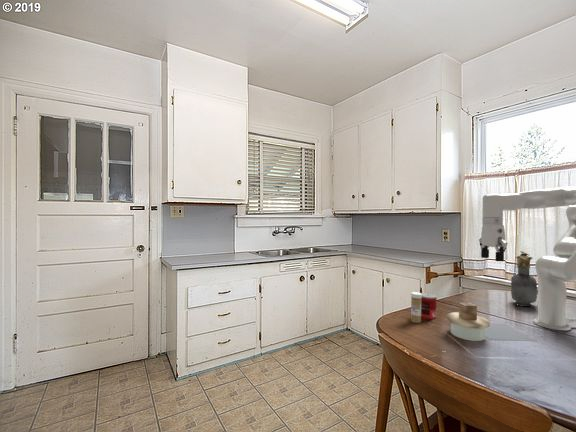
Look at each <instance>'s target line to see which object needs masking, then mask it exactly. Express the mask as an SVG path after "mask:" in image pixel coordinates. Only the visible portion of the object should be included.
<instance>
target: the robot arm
mask: <svg viewBox="0 0 576 432" xmlns="http://www.w3.org/2000/svg"><path fill="white" fill-rule="evenodd" d="M566 206H567V208H566V210H565V216H566V218H567V220H568V228H567V230H565V232H564V234H562V235H561V237H560V238H559V239H558V240H557V242H556V243H555V245H554V246H553V247H552V248H553V249H552V251H553V253H554V255H555V256H552V255H543V256H540V257H538V258H537V260H536V261H535V263H534V264H535V267H534V268H535V271H536V274H537V275H536V276H537V317H536V318H533V321H532V322H533V323H534V324H535V325H537V326H539V327H542V328H545V329H550V330H553V331H561V332H562V331H563V332H565V331H567V332H568V331H570V330H571V329H572V326H571V325H570V323H572V324H576V318H574V317H573V318H571V317H570V318H569V317H568V316H567V285H566V283H565V281H567V282H570V283H571V282H572V283H575V282H576V186H565V187H554V188H553V187H552V188H545V189H535V190H534V189H533V190H529V191H528V190H527V191H521V192H516V193H515V192H514V193H501V194H499V193H490V194H485V195H483V196H482V218H481V219H482V223H481V224H482V227H481V235H480V236H481V237H480V238H479V239H478V242H479V246H480V250H481V252H480V253H481V254H480V255H481V256H480V257H481V258H483V259H488V258H490V249H489V248H494V249H495V262H504V261H505V257H504V256H505V252H506V250H507V246H508V242H507V241H506V230H505V226H504V223H503V221H504V218H503V217H504V211H511V212H513V211H518V210H521V209H522V210H523V209H524V210H525V209H527V210H533V209H534V210H535V209H547V208H557V207H559V208H560V207H566Z"/></svg>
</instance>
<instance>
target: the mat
mask: <svg viewBox="0 0 576 432" xmlns="http://www.w3.org/2000/svg"><path fill="white" fill-rule="evenodd" d="M485 339H488V340H489V341H511V342H512V341H518V342H519V341H520V342H522V341H523V342H537V340H536V339H534V338H532V337H530V336H528V335H527V334H525V333H523V332H521V331H519V330H517V329H516V328H514V327H512V326H510V325H508V324H506V323H504V322H503V323H502V322H501V323H500V322H499V323H498V322H490V326H489V327H488V328H485Z"/></svg>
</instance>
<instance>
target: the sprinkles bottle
mask: <svg viewBox="0 0 576 432" xmlns="http://www.w3.org/2000/svg"><path fill="white" fill-rule="evenodd" d="M421 293H422V292H417V291H412V292H411V293H410V298H411V300H410V301H411V304H410V305H411V306H410V309H411V310H410V321H411V322H412V323H416V324H420V323H421V322H422V318H421V298H422V294H421Z"/></svg>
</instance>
